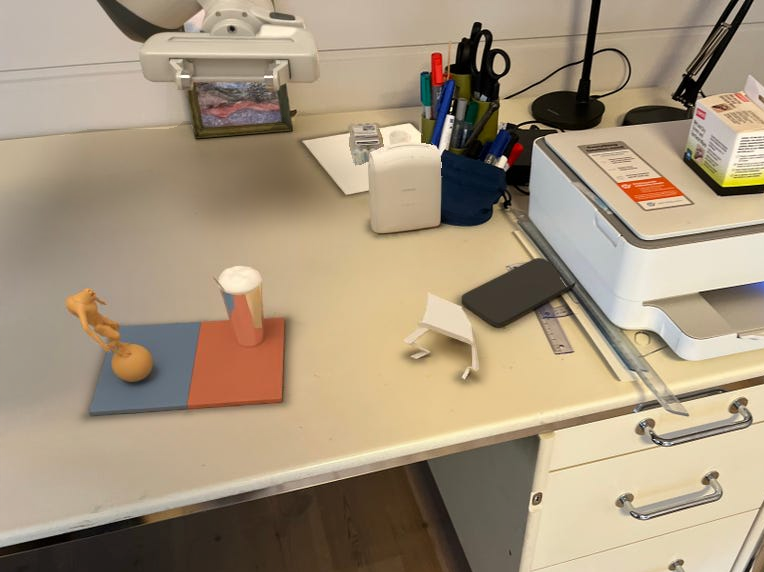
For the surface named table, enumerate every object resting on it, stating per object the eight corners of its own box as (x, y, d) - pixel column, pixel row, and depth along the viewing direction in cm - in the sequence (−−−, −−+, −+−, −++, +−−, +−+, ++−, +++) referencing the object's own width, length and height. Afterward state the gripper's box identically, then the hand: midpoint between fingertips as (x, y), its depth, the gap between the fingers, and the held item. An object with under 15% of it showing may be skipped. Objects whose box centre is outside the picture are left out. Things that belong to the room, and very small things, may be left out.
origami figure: (385, 345, 88) (384, 312, 84) (436, 316, 93) (437, 283, 89) (458, 397, 82) (460, 364, 79) (509, 363, 87) (513, 330, 83)
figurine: (161, 397, 78) (133, 305, 70) (98, 412, 76) (62, 318, 68) (152, 349, 84) (125, 258, 76) (93, 361, 82) (59, 269, 74)
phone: (457, 296, 94) (539, 255, 102) (457, 301, 95) (538, 260, 103) (497, 325, 91) (580, 280, 99) (497, 330, 91) (579, 285, 99)
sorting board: (90, 416, 76) (88, 411, 76) (116, 330, 87) (114, 326, 86) (281, 402, 80) (281, 398, 79) (284, 321, 90) (284, 317, 90)
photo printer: (373, 237, 105) (371, 155, 97) (367, 221, 108) (364, 140, 100) (444, 228, 108) (447, 148, 100) (435, 213, 111) (438, 134, 103)
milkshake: (215, 343, 85) (199, 270, 79) (251, 320, 89) (239, 248, 82) (243, 359, 83) (228, 286, 77) (278, 336, 87) (268, 263, 80)
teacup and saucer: (382, 173, 119) (381, 149, 117) (362, 152, 125) (361, 128, 122) (431, 163, 123) (432, 140, 120) (410, 143, 128) (410, 120, 125)
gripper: (143, 13, 90) (122, 54, 80) (316, 17, 94) (317, 56, 84) (154, 66, 94) (135, 111, 84) (320, 67, 98) (321, 111, 88)
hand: (228, 83), depth 84 cm, fingers open, 8 cm apart
